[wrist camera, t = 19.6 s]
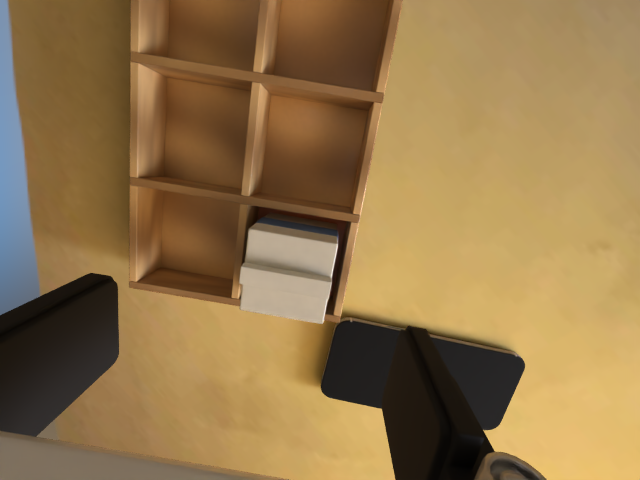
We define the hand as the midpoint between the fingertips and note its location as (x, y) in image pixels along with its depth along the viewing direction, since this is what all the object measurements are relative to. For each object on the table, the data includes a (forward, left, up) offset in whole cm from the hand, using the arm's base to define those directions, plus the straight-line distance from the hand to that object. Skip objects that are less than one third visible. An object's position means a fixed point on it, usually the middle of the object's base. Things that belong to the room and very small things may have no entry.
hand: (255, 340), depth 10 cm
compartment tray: (-6, -3, -13) cm, 15 cm away
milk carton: (0, 0, -12) cm, 12 cm away
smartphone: (+9, +11, -13) cm, 19 cm away
